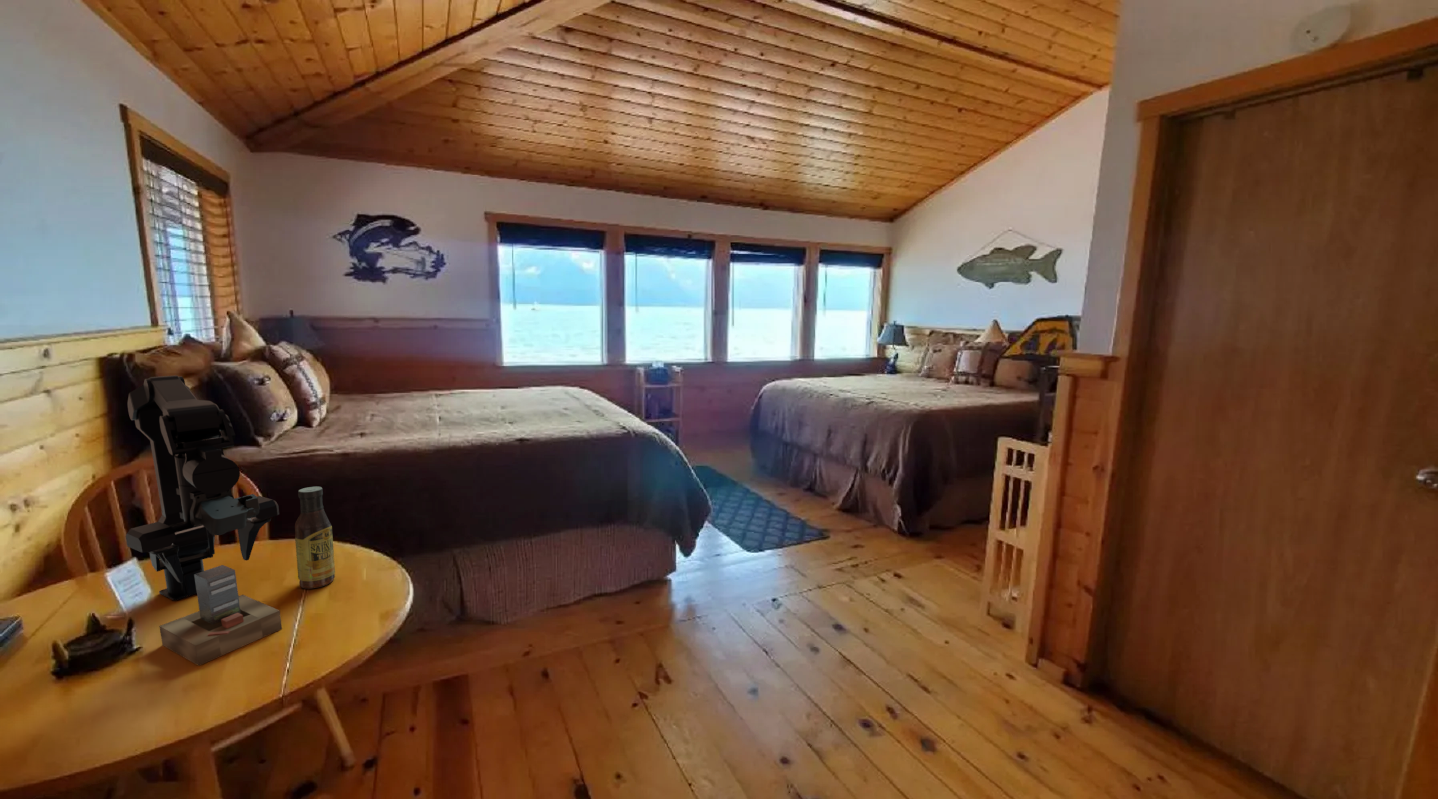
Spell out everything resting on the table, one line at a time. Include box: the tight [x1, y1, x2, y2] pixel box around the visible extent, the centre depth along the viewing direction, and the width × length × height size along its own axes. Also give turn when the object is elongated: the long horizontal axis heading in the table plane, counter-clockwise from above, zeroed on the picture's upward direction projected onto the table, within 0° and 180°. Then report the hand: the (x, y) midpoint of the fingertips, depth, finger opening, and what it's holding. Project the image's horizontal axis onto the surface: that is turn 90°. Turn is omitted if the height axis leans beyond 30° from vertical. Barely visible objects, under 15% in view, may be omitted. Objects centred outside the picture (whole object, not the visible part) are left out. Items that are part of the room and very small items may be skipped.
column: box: [194, 564, 241, 624], centre depth 101 cm, size 5×4×8 cm
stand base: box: [159, 594, 283, 666], centre depth 101 cm, size 13×12×5 cm
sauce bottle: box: [294, 486, 336, 590], centre depth 120 cm, size 7×6×20 cm
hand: (214, 570), depth 100 cm, fingers open, 9 cm apart
